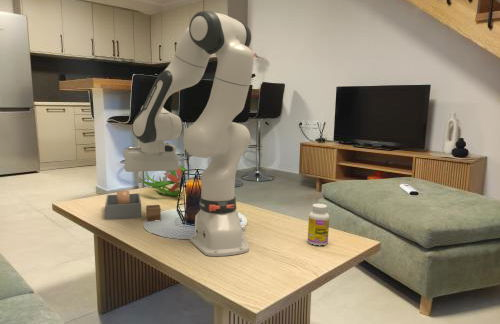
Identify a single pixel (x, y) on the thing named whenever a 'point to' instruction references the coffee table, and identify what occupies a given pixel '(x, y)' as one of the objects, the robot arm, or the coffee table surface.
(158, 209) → the walnut cube
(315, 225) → the supplement bottle
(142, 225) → the coffee table surface
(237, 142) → the robot arm
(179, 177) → the decorative plant
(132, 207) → the tote
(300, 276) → the coffee table surface
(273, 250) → the coffee table surface
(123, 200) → the terracotta cylinder
